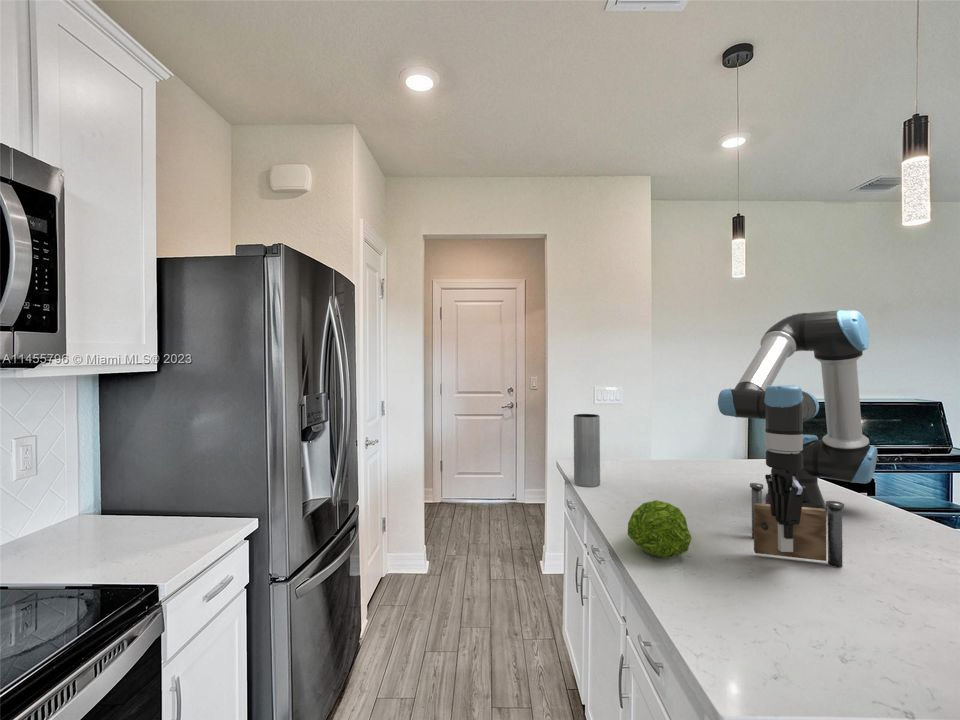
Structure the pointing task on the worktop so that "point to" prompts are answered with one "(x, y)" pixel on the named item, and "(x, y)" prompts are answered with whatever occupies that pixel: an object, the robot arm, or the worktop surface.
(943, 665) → the worktop surface
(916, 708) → the worktop surface
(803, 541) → the gate
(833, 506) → the hinge post
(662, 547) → the lettuce
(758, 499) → the post
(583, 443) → the vase
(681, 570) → the worktop surface
